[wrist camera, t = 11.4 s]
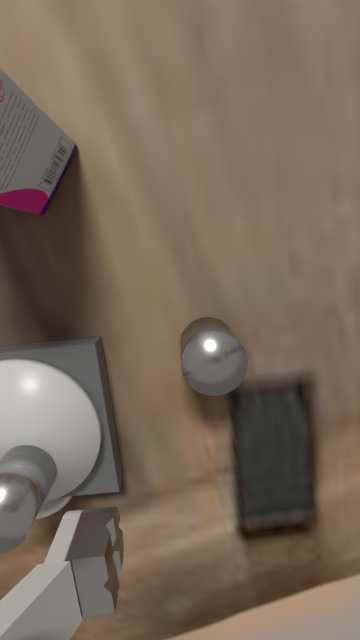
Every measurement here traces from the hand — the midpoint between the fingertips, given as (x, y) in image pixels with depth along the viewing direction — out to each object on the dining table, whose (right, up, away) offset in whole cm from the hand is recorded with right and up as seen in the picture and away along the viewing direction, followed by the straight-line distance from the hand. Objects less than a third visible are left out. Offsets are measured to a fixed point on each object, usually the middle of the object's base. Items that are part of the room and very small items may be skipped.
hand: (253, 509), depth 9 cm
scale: (-14, -3, +18) cm, 23 cm away
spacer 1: (-14, -6, +15) cm, 21 cm away
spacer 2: (0, +4, +16) cm, 17 cm away
